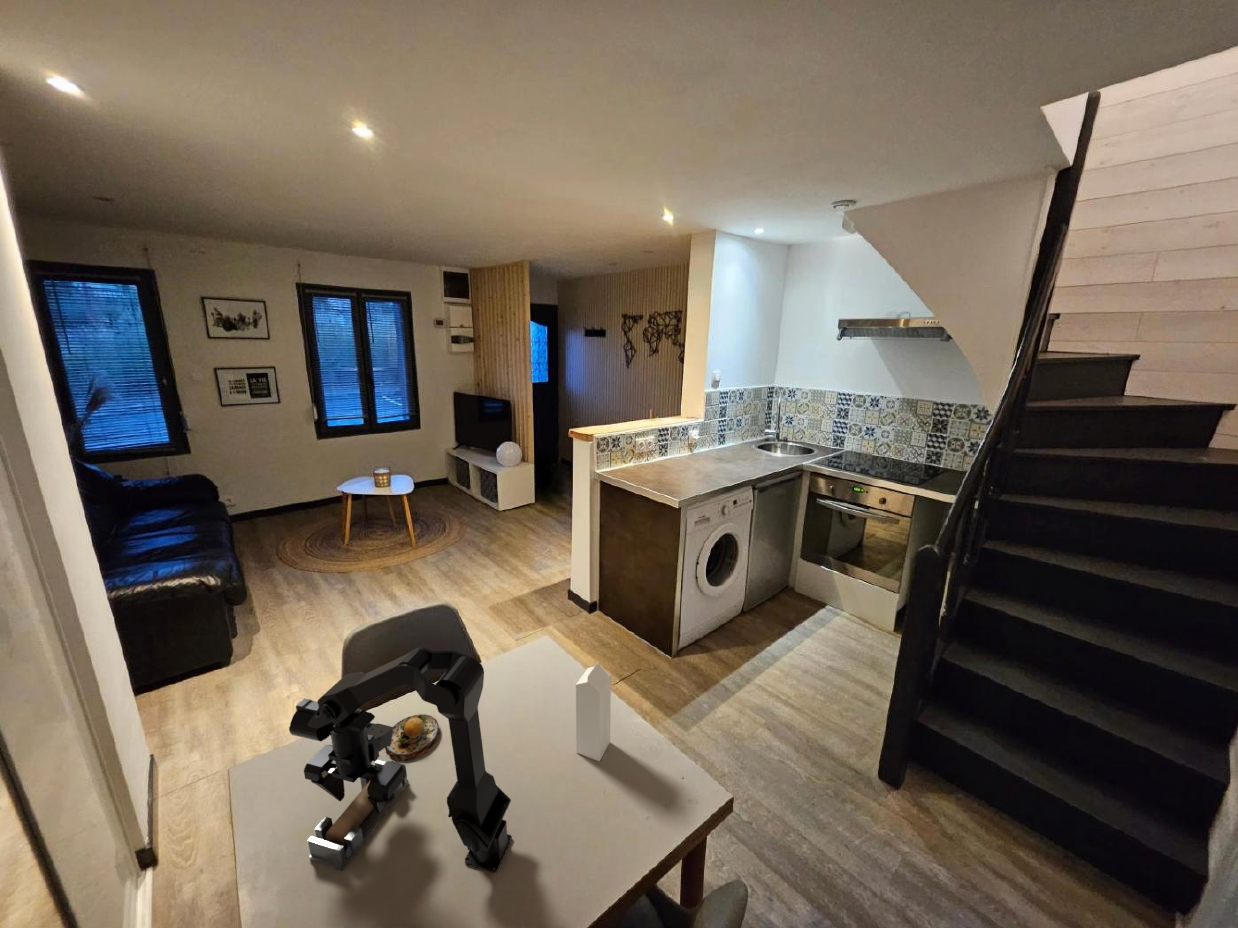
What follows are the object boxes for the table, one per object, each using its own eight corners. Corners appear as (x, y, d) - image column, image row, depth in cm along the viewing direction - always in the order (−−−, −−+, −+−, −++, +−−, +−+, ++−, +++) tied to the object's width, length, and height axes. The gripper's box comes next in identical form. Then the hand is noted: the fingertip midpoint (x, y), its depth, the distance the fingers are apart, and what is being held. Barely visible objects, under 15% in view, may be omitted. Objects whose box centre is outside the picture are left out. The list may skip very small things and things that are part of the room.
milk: (610, 742, 113) (612, 663, 107) (599, 762, 107) (600, 680, 101) (587, 733, 115) (588, 655, 109) (575, 752, 110) (575, 672, 104)
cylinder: (378, 782, 100) (375, 767, 99) (394, 787, 99) (391, 772, 98) (327, 844, 88) (324, 828, 87) (345, 850, 87) (342, 833, 86)
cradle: (410, 782, 102) (408, 766, 100) (344, 871, 85) (340, 853, 84) (378, 774, 103) (376, 757, 102) (307, 859, 87) (303, 841, 85)
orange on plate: (431, 712, 121) (429, 687, 119) (446, 744, 112) (443, 718, 110) (380, 734, 114) (376, 709, 112) (391, 770, 105) (387, 743, 103)
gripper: (421, 718, 94) (428, 780, 98) (343, 699, 99) (353, 759, 103) (380, 766, 84) (390, 832, 88) (295, 742, 88) (309, 807, 92)
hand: (361, 804), depth 93 cm, fingers open, 9 cm apart
